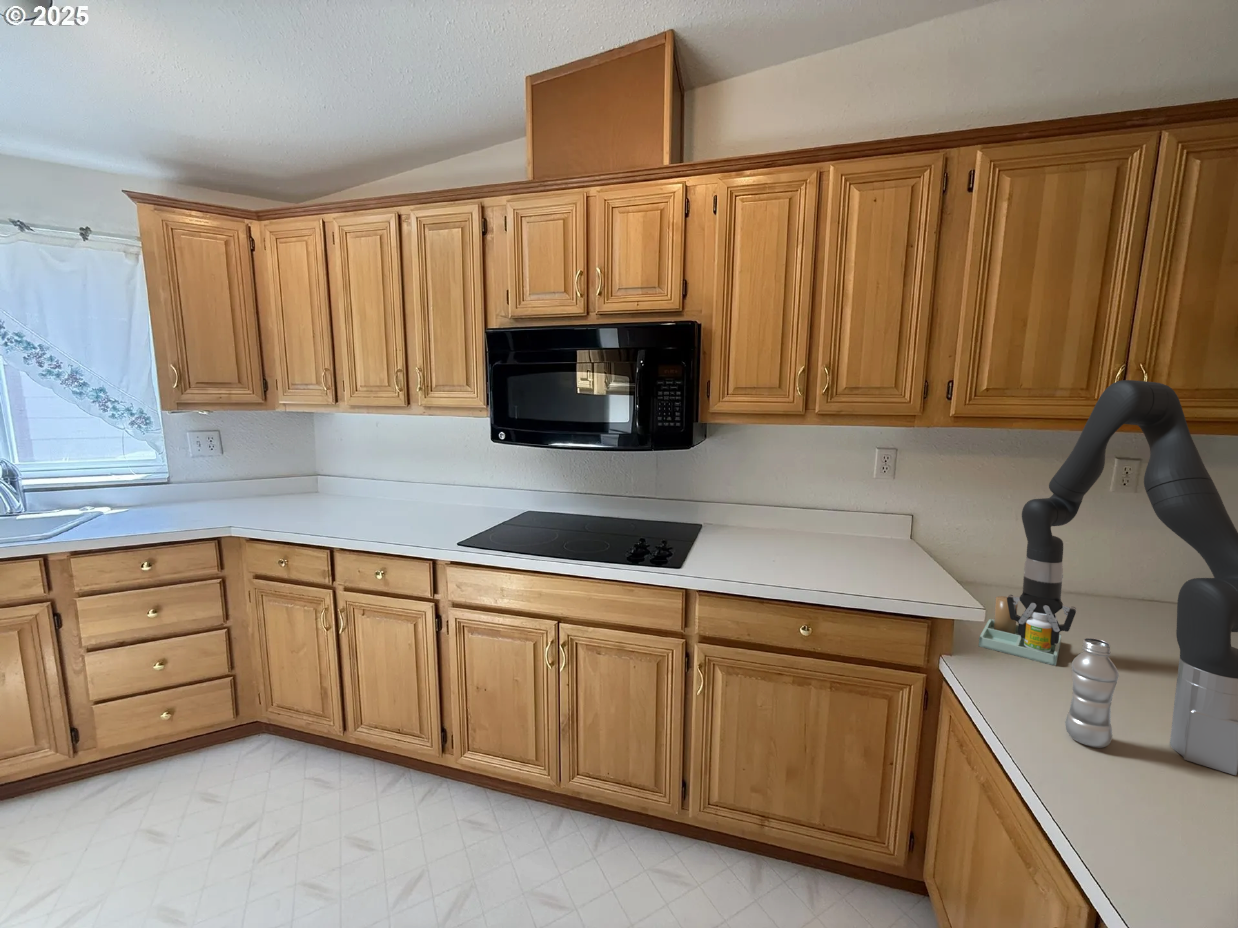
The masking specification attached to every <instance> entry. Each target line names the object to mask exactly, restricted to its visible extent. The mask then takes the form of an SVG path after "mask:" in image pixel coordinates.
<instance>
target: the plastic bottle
mask: <svg viewBox="0 0 1238 928" xmlns="http://www.w3.org/2000/svg"><path fill="white" fill-rule="evenodd" d="M1081 649H1082V650H1083V651H1082V652H1081V653H1079V654H1077V656H1076V657H1074V658H1073V660H1072V662H1071V676H1072V697H1071V702H1070V707H1069V710H1068V711H1067V714H1066V718H1065V721H1064V723H1065V730H1066V733H1067V734H1068V735H1069V737H1070V738H1072V740H1074V741H1076V742H1078V743H1080V744H1083V745H1084V746H1088V747H1092V748H1099V749H1101V748H1105V747H1107V746H1109V745H1111V741H1112V740H1113V726H1112V724H1111V723H1112V722H1111V717H1112V715H1111V713H1112V712H1111V706H1112V701H1113V696H1114V692H1115V689H1116V687H1117V683H1118V680H1119V677H1120V675H1119V671H1118V668H1117V667H1116V665H1115V664H1114V662H1113V661H1112V660H1111V658H1110V656H1111V644H1110V643H1109V642H1107V641H1105V640H1102V639H1098V638H1094V637H1085V638H1083V640H1082V645H1081Z"/></svg>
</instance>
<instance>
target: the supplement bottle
mask: <svg viewBox="0 0 1238 928" xmlns="http://www.w3.org/2000/svg"><path fill="white" fill-rule="evenodd" d="M1025 622H1026V623H1025V637H1024V645H1025V646H1026V647H1027V648H1029V649H1033V650H1037V651H1041V652H1049V651H1050V650H1051V636H1052V629H1053V628H1052V625H1051V623H1050V622H1049V619H1048V617H1047V615H1046V614H1043V613H1038V612H1032V613H1031V615H1030V616H1029V617H1028V619H1027V620H1026V621H1025Z"/></svg>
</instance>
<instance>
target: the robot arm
mask: <svg viewBox="0 0 1238 928" xmlns="http://www.w3.org/2000/svg"><path fill="white" fill-rule="evenodd" d="M1123 425H1131V426H1138V427H1139V428H1140V429H1141V431H1142V433H1143V435H1144V437H1145V439H1146V441H1147V444H1148V447H1149V453H1150V454H1149V455H1150V456H1149V458H1148V462H1147V466H1146V469H1145V471H1144V476H1143V485H1144V491H1145V493H1146V495H1147V497H1148V500H1149V501H1150V502H1149V503H1150V505H1151V507H1152V510H1153V511H1154V513H1155V516H1157V518H1158V519H1159V520H1160V522H1161V523H1162V524H1164V525H1165V527H1167V528H1168V529H1169V530H1170V531H1171V532H1173V533H1174V534H1176V536H1178V537H1179V538H1180V539H1182V540H1183V541H1184V542H1185V543H1187V544H1188V545H1189V546H1190V547H1191V548H1193V549H1194V550H1195V551H1196V552H1197V553H1198V554H1199V555H1200V557H1201V558H1202V559H1203V560H1204V562H1205V563H1206V565H1207V566H1208V568H1209V570H1210V571H1211V574H1212V576H1213V577H1195V578H1191V579H1188V580H1187V581H1185V582H1184V583H1183V584H1182V585H1181V587H1180V589H1179V592H1178V595H1177V602H1176V603H1177V604H1176V630H1175V632H1176V641H1177V644H1178V646H1179V659H1178V660H1179V661H1178V667H1177V668H1178V670H1177V678H1176V686H1175V695H1174V702H1173V703H1174V704H1173V709H1172V710H1173V712H1172V720H1171V731H1170V739H1169V740H1170V741H1169V745H1170V747H1171V748H1172V749H1173V750H1174V751H1175V752H1177V753H1178V754H1179V755H1181V756H1182V757H1183V760H1185V761H1188V762H1190V763H1194V764H1197V765H1200V766H1202V767H1203V766H1204V767H1208V768H1210V769H1213V770H1216V771H1219V772H1223V773H1226V774H1229V775H1232V776H1237V775H1238V648H1236V647H1233V646H1232V633H1238V530H1237V528H1236V526H1235V525H1234V523H1233V521H1232V519H1231V517H1230V515H1229V514H1228V513H1229V512H1228V511H1227V509H1226V506H1225V505H1224V502H1223V500H1222V497H1221V494H1220V493H1219V491H1218V489H1217V487H1216V485H1215V483H1214V481H1213V479H1212V477H1211V475H1210V473H1209V472H1208V470H1207V468H1206V466H1205V464H1204V461H1203V460H1202V457H1201V455H1200V453H1199V451H1198V448H1197V447H1196V444H1195V442H1194V440H1193V438H1192V437H1193V436H1192V435H1191V432H1190V430H1189V426H1188V423H1187V421H1186V417H1185V413H1184V411H1183V407H1182V404H1181V401H1180V398H1179V396H1178V395H1177V393H1176V391H1175V390H1174V389H1173V388H1172V387H1171V386H1169V385H1167V384H1164V383H1161V382H1155V381H1145V380H1135V379H1134V380H1133V379H1126V380H1125V379H1122V380H1119V381H1115V382H1113V383H1111V384H1110V385H1109V386H1107V387H1106V389H1104V390H1103V392H1101V395H1100V396H1099V398H1098V400H1097V402H1096V403H1095V405H1094V407H1093V409H1092V411H1091V413H1090V415H1089V417H1088V419H1087V421H1086V423H1085V425H1084V426H1083V429H1082V431H1081V433H1080V435H1079V438H1078V439H1077V441H1076V444H1075V445H1074V447H1073V449H1072V451H1071V452H1070V453H1069V455H1068V457H1067V458H1066V459H1065V460H1064V462H1063V464H1061V466H1060V467H1059V469H1058V470H1057V472H1055V474H1054V475H1053V477H1052V478H1051V479H1050V481H1049V483H1048V489H1049V491H1050V492H1051V493H1052V495H1050V497H1045V498H1043V497H1042V498H1033V499H1030V500H1028V501H1027V502H1026V503H1025V504H1024V506H1023V507H1022V509H1021V510H1022V511H1021V520H1022V525H1023V529H1024V533H1025V537H1026V541H1027V546H1026V556H1025V562H1024V568H1023V581H1022V592H1021V594H1020V596H1018V595H1017V596H1016V595H1013V594H1008V596H1006V597H1007V603H1008V608H1009V614H1010V618H1011V619H1012V620H1015V621H1016V623H1018V624H1017V625H1018V634H1019V635H1021V638H1024V637H1025V623H1026V620H1027V619H1028V617H1030V615H1031V613H1032V612H1038V613H1043V614H1046V615H1047V617H1048V619H1049V622H1050V623H1051V625H1052V628H1053V629H1052V636H1051V645H1055V644H1058V642H1059V634H1060V633H1061V632H1067V633H1068V632H1069V631H1070V629H1071V627H1072V623H1073V621H1074V619H1075V616H1076V612H1077V608H1076V606H1069V605H1065V604H1063V601H1062V600H1061V599H1062V589H1063V578H1064V574H1063V573H1064V571H1063V570H1064V568H1063V559H1064V541H1063V540H1062V539H1061V538H1060V537H1058V536H1055V535H1053V533H1052V527H1060V526H1064V525H1066V524H1068V523H1070V522H1071V521H1072V520H1074V518H1075V517H1076V516H1077V514H1078V512H1079V510H1080V508H1081V505H1082V502H1083V499H1084V496H1086V494H1087V493H1088V492H1089V491H1090V489H1091V488H1092V487H1094V485H1095V484H1096V483H1097V481H1098V480H1099V478H1100V477H1101V475H1102V473H1103V471H1104V468H1105V465H1106V463H1105V462H1106V451H1107V447H1108V443H1109V441H1110V439H1111V438H1112V437H1113V435H1114V434H1115V433H1116V432H1117V431H1118V430H1119V429H1120V428H1122V426H1123ZM1018 602H1020V604H1022V606H1023V607H1024V608H1025V609H1024V611H1023V612H1022V614H1021V616H1020V615H1019V614H1018V611H1017V612H1016V606H1015V605H1017V603H1018ZM1018 604H1019V603H1018ZM1061 610H1063V614H1064V615H1065V616H1066V618H1065V620H1064V623H1063V624H1062V623H1061V624H1060V622H1059V620H1058V617H1057V613H1058V612H1059V611H1061Z"/></svg>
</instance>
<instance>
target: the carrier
mask: <svg viewBox="0 0 1238 928" xmlns="http://www.w3.org/2000/svg"><path fill="white" fill-rule="evenodd" d="M994 621H995V619H993V618H988V621H987V622H986V624H985V626H984V628H983V630H982V632H981V633H980V636H979V637H978V647H981V648H984V649H987V650H992V651H996V652H1000V653H1004V654H1007V655H1012V656H1015V657H1019V658H1022V659H1023V658H1024V659H1027V660H1031V661H1035V662H1039V663H1043V664H1048V665H1050V666H1055V667H1057V663H1058V659H1059V658H1058V657H1059V653H1060V648H1061V643H1062V634H1060V633H1059V642H1058V644H1055V645H1051V650H1050V651H1049V652H1041V651H1037V650H1033V649H1029V648H1027V647H1026V646H1025V645H1024V638H1021V635H1019V634H1018V624H1016V633H1015V634H1012V633H1007V632H1003V631H999V630H994Z"/></svg>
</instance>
